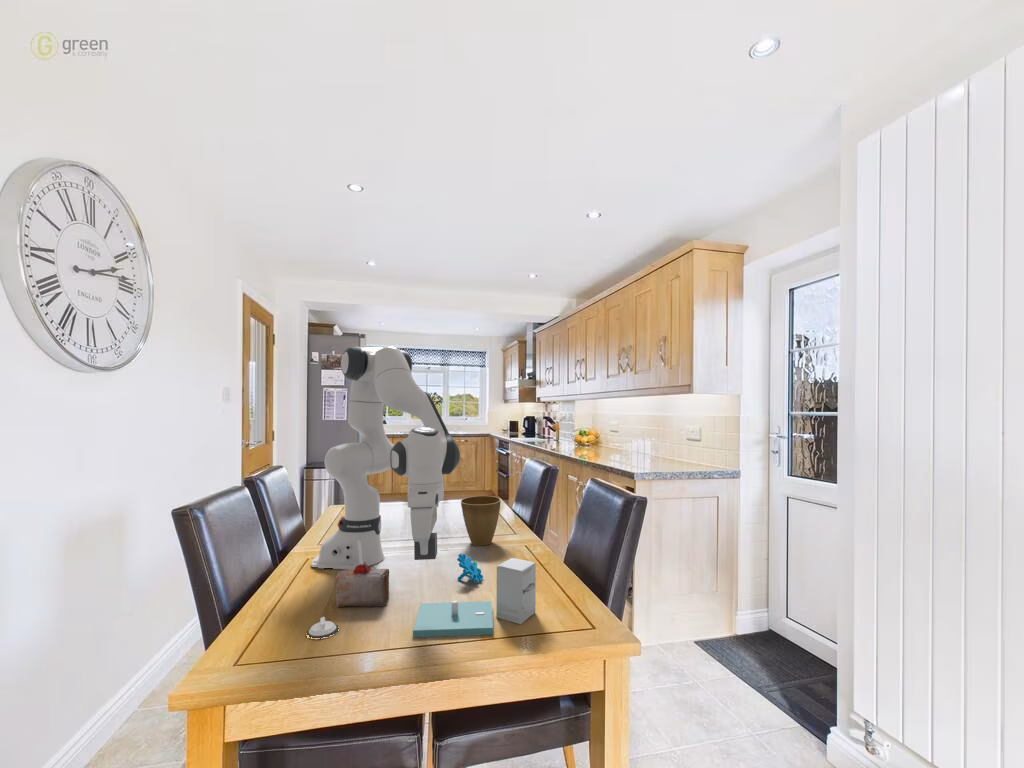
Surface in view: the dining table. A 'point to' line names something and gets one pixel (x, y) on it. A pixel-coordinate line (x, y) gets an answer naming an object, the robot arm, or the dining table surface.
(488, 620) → the control panel
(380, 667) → the dining table surface
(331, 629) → the stove knob
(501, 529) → the dining table surface
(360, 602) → the food item
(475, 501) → the plant pot
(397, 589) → the dining table surface
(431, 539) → the grey marked cube
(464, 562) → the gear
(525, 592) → the supplement box
